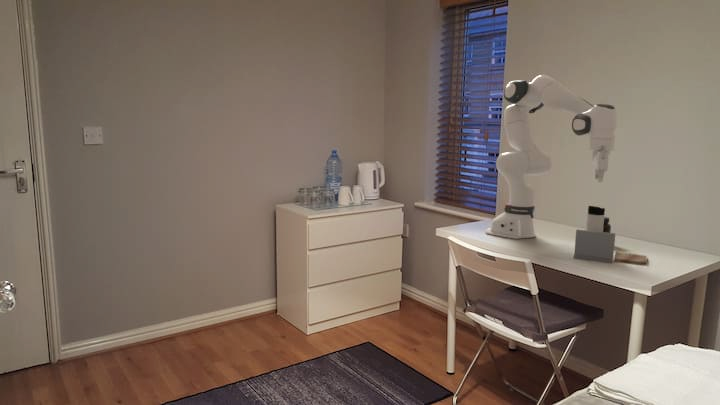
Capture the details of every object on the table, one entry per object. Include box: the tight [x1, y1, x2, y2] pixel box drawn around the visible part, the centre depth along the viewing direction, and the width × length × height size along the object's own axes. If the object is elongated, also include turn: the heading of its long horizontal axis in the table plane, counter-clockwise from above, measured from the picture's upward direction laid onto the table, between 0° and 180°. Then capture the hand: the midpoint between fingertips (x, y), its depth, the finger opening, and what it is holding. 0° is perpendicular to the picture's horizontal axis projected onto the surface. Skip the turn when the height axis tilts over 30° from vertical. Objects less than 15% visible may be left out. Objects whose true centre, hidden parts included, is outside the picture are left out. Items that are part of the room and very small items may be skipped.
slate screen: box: [573, 228, 616, 264], centre depth 206 cm, size 14×4×11 cm, turn 62°
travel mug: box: [585, 205, 606, 232], centre depth 214 cm, size 6×7×20 cm
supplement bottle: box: [603, 216, 612, 233], centre depth 231 cm, size 7×7×12 cm
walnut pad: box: [613, 251, 647, 266], centre depth 208 cm, size 11×11×1 cm
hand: (598, 180), depth 211 cm, fingers open, 8 cm apart
